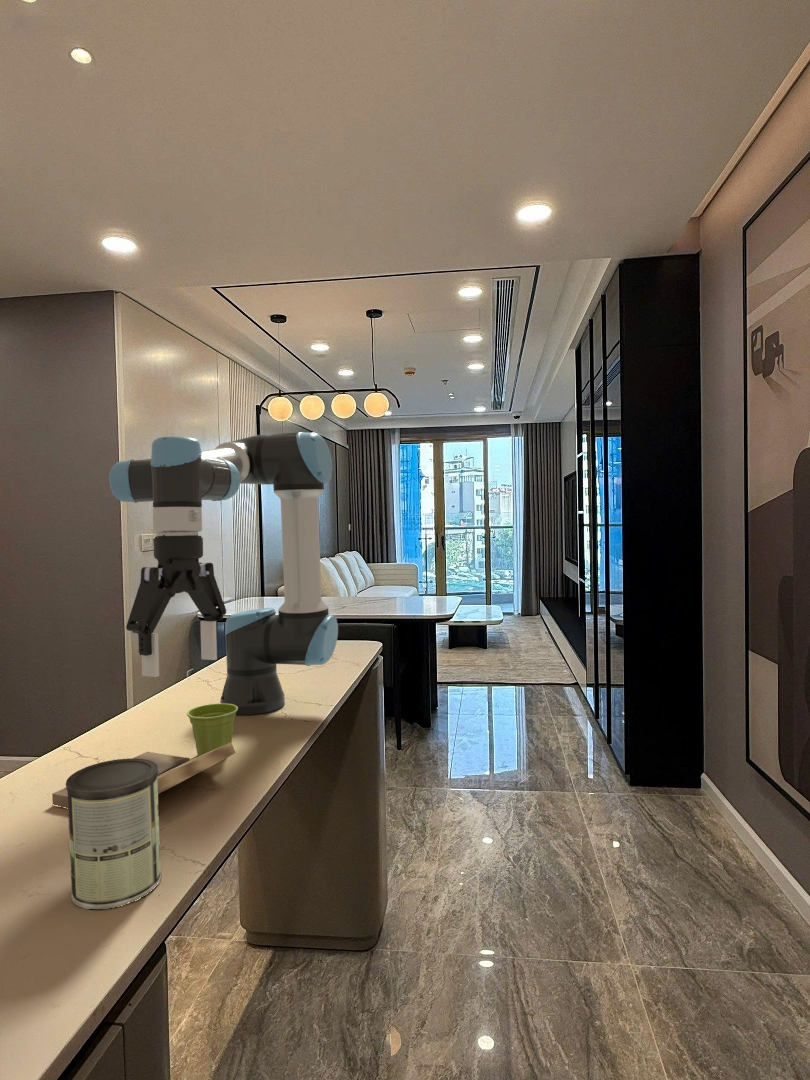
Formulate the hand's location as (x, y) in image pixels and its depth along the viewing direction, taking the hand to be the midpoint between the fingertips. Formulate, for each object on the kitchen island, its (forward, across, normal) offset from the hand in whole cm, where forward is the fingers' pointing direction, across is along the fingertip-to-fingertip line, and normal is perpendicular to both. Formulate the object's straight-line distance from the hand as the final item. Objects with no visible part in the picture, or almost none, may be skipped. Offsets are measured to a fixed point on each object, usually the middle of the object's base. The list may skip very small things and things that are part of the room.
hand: (181, 667), depth 106 cm
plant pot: (+21, +18, +9) cm, 29 cm away
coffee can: (+22, -23, -10) cm, 34 cm away
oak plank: (+19, 0, +2) cm, 19 cm away
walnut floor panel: (+21, 0, +13) cm, 25 cm away
